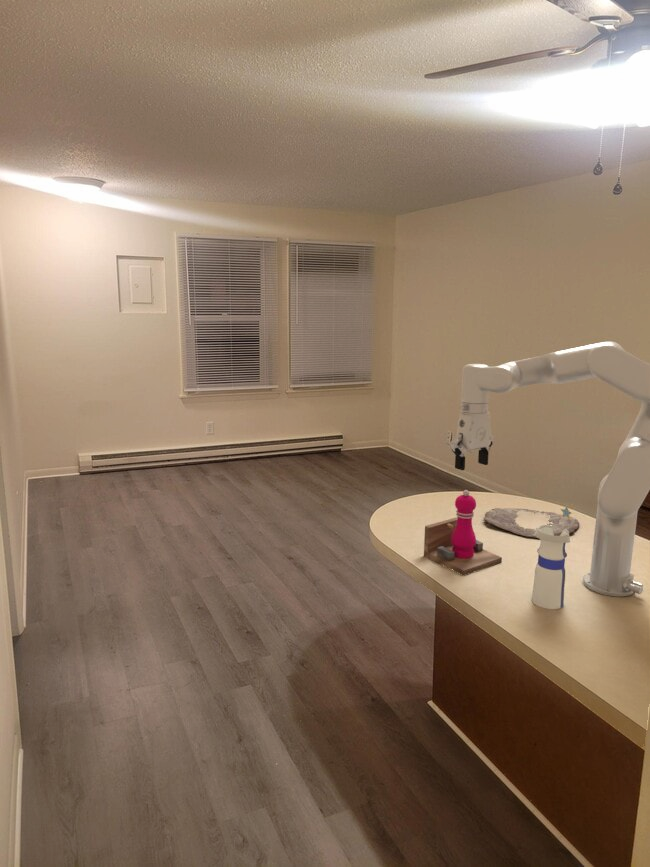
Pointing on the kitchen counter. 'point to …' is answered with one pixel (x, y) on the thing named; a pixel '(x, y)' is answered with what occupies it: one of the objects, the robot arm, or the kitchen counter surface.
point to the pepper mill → (464, 527)
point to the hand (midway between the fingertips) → (471, 466)
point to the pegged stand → (441, 551)
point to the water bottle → (550, 567)
